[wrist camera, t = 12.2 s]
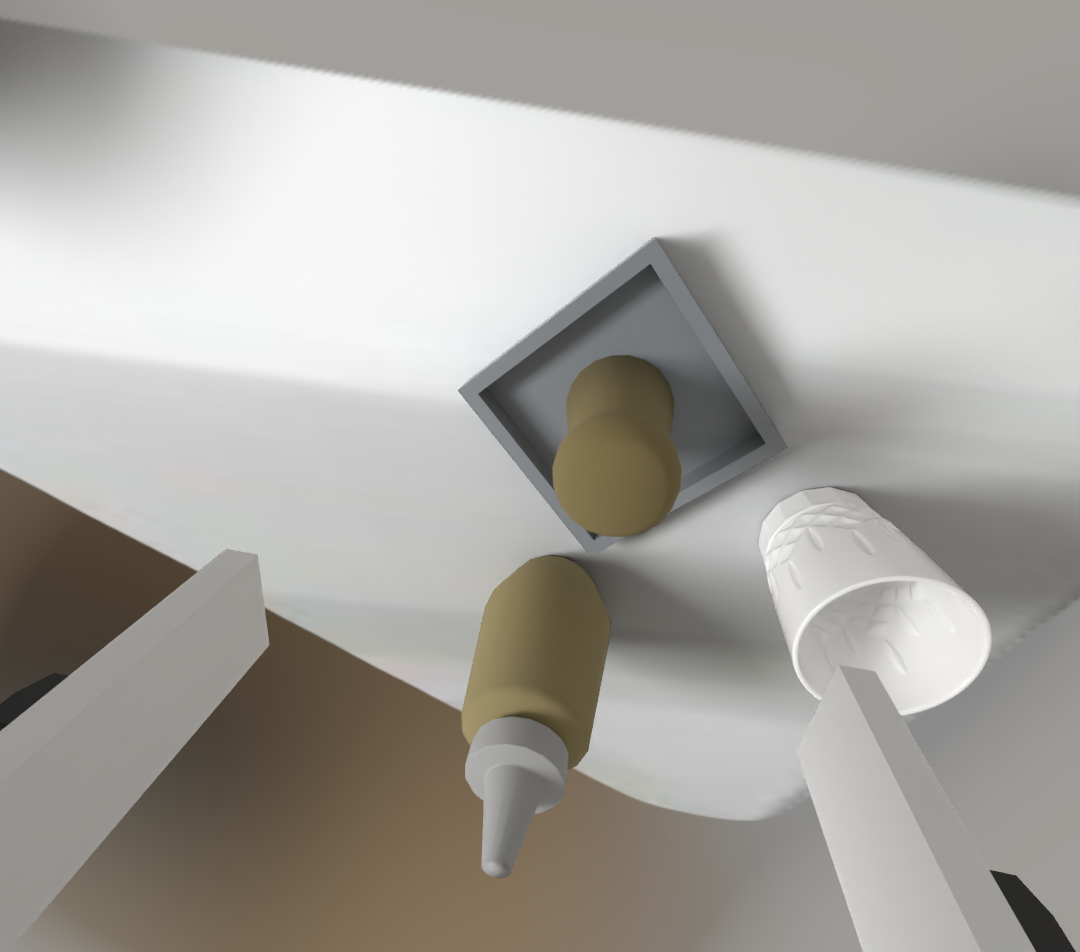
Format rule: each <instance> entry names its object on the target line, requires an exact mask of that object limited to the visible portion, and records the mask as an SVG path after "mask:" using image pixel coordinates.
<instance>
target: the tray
mask: <svg viewBox="0 0 1080 952" xmlns="http://www.w3.org/2000/svg"><path fill="white" fill-rule="evenodd" d="M611 355H630V356H634V357H637V358H640V359H643V360H646V361H648V362H649V363H650V364H652V365H653V366H655V367H656V368H657V369H659V370H660V371H661V373H662V374H663V375H664V377H665V378H666V380H667V381H668V383H669V384H670V387H671V391H672V394H673V398H674V412H673V420H672V426H671V431H670V437H669V438H670V439H671V440H672V442H673V443H674V445H675V447H676V450H677V453H678V457H679V460H680V463H681V467H682V478H681V489H680V491H679V494H678V496H677V498H676V501H675V503H674V505H673V507H672V510H671V511H670V512H672V511H674V510H675V509H677V508H679V507H681V506H683V505H685V504H686V503H688V502H690V501H692V500H694V499H695V498H697V497H699V496H701V495H703V494H704V493H706V492H708V491H710V490H712V489H714V488H715V487H717V486H719V485H721V484H723V483H724V482H726V481H728V480H730V479H732V478H733V477H735V476H737V475H739V474H741V473H743V472H744V471H746V470H748V469H750V468H752V467H753V466H755V465H757V464H759V463H761V462H762V461H764V460H766V459H768V458H770V457H771V456H773V455H775V454H777V453H779V452H781V451H782V450H784V449H786V448H788V447H787V445H786V444H785V442H784V440H783V439H782V437H781V436H780V434H779V433H778V431H777V429H776V428H775V426H774V425H773V423H772V421H771V420H770V418H769V417H768V415H767V414H766V412H765V410H764V409H763V407H762V406H761V404H760V402H759V401H758V399H757V398H756V396H755V394H754V393H753V391H752V390H751V388H750V387H749V385H748V383H747V382H746V380H745V379H744V377H743V375H742V374H741V372H740V371H739V369H738V368H737V366H736V364H735V363H734V361H733V360H732V358H731V356H730V355H729V353H728V352H727V350H726V348H725V347H724V345H723V344H722V342H721V341H720V339H719V337H718V336H717V334H716V333H715V331H714V329H713V328H712V326H711V325H710V323H709V322H708V320H707V318H706V317H705V315H704V314H703V312H702V310H701V309H700V307H699V306H698V304H697V302H696V301H695V299H694V298H693V296H692V295H691V293H690V291H689V290H688V288H687V287H686V285H685V283H684V282H683V280H682V279H681V277H680V275H679V274H678V272H677V271H676V269H675V268H674V266H673V264H672V263H671V261H670V260H669V258H668V256H667V255H666V253H665V252H664V250H663V249H662V247H661V245H660V244H659V242H658V241H657V239H656V238H652V239H651V240H650V241H648V242H647V243H646V244H644V245H643V246H642V247H641V248H639V249H638V250H637V251H635V252H634V253H633V254H631V255H630V256H629V257H628V258H626V259H625V260H624V261H622V262H621V263H620V264H619V265H617V266H616V267H615V268H613V269H612V270H611V271H609V272H608V273H607V274H606V275H604V276H603V277H602V278H600V279H599V280H598V281H597V282H595V283H594V284H593V285H591V286H590V287H589V288H587V289H586V290H585V291H584V292H582V293H581V294H580V295H578V296H577V297H576V298H575V299H573V300H572V301H571V302H569V303H568V304H567V305H565V306H564V307H563V308H562V309H560V310H559V311H558V312H556V313H555V314H554V315H553V316H551V317H550V318H549V319H547V320H546V321H545V322H543V323H542V324H541V325H540V326H538V327H537V328H536V329H534V330H533V331H532V332H531V333H529V334H528V335H527V336H525V337H524V338H523V339H521V340H520V341H519V342H518V343H516V344H515V345H514V346H512V347H511V348H510V349H509V350H507V351H506V352H505V353H503V354H502V355H501V356H499V357H498V358H497V359H496V360H494V361H493V362H492V363H490V364H489V365H488V366H487V367H485V368H484V369H483V370H481V371H480V372H479V373H477V374H476V375H475V376H474V377H472V378H471V379H470V380H469V381H468V382H466V383H465V384H464V385H463V386H462V387H461V388H460V389H459V390H458V391H459V393H460V394H461V395H462V396H463V398H464V399H465V400H466V401H467V403H468V404H469V405H470V406H471V408H472V409H473V410H474V411H475V413H476V414H477V415H478V416H479V418H480V419H481V420H482V421H483V423H484V424H485V425H486V426H487V428H488V429H489V430H490V431H491V433H492V434H493V435H494V436H495V438H496V439H497V440H498V441H499V443H500V444H501V445H502V446H503V448H504V449H505V450H506V451H507V453H508V454H509V455H510V456H511V458H512V459H513V460H514V461H515V463H516V464H517V465H518V466H519V468H520V469H521V470H522V471H523V473H524V474H525V475H526V476H527V478H528V479H529V480H530V481H531V483H532V484H533V485H534V486H535V488H536V489H537V490H538V491H539V493H540V494H541V495H542V496H543V498H544V499H545V500H546V501H547V503H548V504H549V505H550V506H551V508H552V509H553V510H554V511H555V513H556V514H557V515H558V516H559V518H560V519H561V520H562V521H563V523H564V524H565V525H566V526H567V528H568V529H569V530H570V531H571V533H572V534H573V535H574V536H575V538H576V539H577V540H578V541H579V543H580V544H581V545H582V546H583V548H584V549H585V550H586V551H587V553H588V554H589V555H590V556H592V555H594V554H596V553H598V552H599V551H601V550H603V549H605V548H607V547H608V546H610V545H612V544H614V543H616V542H618V541H619V540H621V539H623V538H625V537H606V536H603V535H600V534H596V533H593V532H590V531H587V530H586V529H584V528H583V527H581V526H580V525H578V524H577V523H575V522H574V521H572V519H571V518H570V517H569V516H568V515H567V513H566V512H565V511H564V510H563V509H562V507H561V505H560V503H559V500H558V498H557V495H556V493H555V490H554V486H553V468H552V467H553V464H554V461H555V458H556V454H557V451H558V448H559V445H560V444H561V442H562V441H563V440H564V438H565V437H566V436H567V434H568V423H567V397H568V394H569V391H570V387H571V385H572V383H573V382H574V380H575V379H576V377H577V376H578V375H579V373H580V372H581V371H582V370H583V369H585V368H586V367H587V366H589V365H590V364H591V363H593V362H594V361H596V360H599V359H602V358H605V357H608V356H611ZM670 512H669V513H670Z"/></svg>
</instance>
